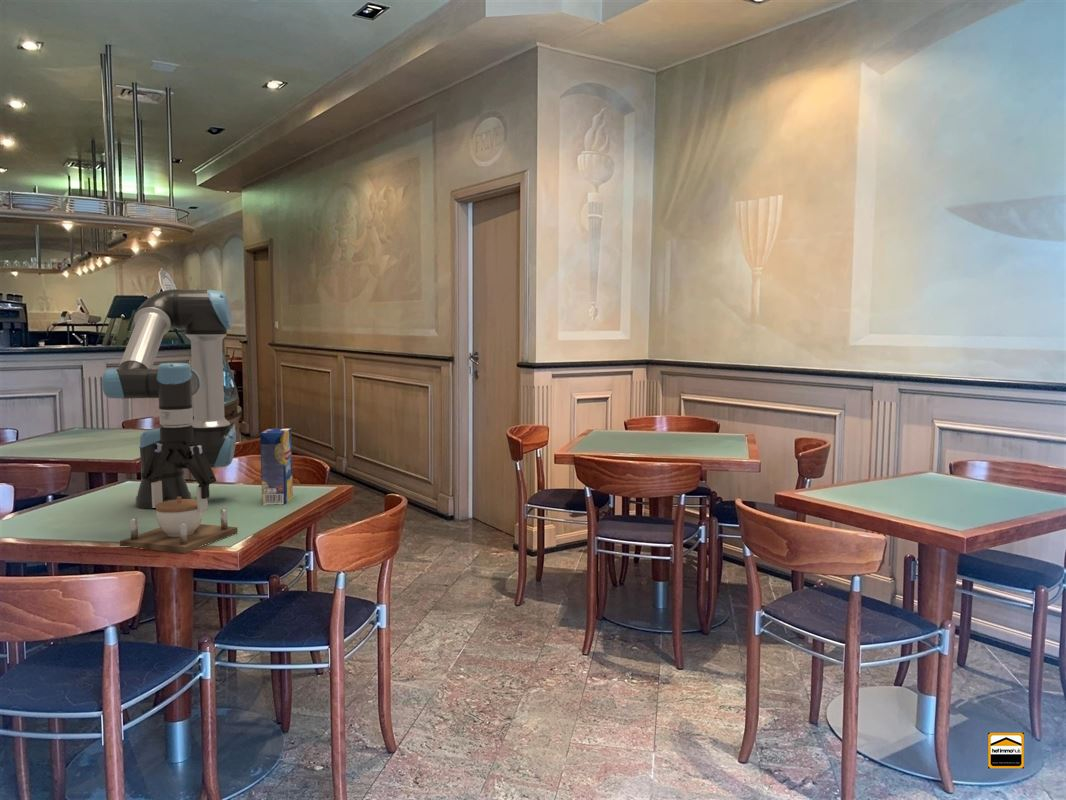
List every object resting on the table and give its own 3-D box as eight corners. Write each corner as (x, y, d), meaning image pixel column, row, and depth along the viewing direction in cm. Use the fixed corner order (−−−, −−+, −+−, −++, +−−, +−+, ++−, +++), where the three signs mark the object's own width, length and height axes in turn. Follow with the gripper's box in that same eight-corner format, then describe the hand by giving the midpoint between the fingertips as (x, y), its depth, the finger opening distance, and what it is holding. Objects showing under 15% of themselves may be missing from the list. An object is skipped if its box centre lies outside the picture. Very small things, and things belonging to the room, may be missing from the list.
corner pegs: (129, 539, 183) (128, 519, 183) (177, 523, 199) (176, 505, 198) (184, 544, 179) (183, 524, 178) (229, 528, 194) (228, 509, 194)
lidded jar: (170, 527, 194) (169, 492, 193) (211, 528, 194) (210, 492, 193) (148, 539, 184) (146, 501, 183) (191, 539, 183) (189, 501, 182)
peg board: (119, 546, 182) (119, 540, 182) (176, 527, 200) (176, 522, 200) (185, 553, 177) (184, 547, 177) (237, 532, 195) (237, 527, 195)
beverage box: (292, 497, 239) (291, 428, 237) (285, 504, 228) (283, 432, 226) (270, 497, 238) (268, 428, 236) (262, 505, 227) (260, 433, 225)
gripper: (123, 425, 186) (127, 508, 188) (208, 429, 179) (211, 516, 181) (146, 421, 193) (150, 502, 195) (229, 425, 186) (232, 509, 189)
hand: (180, 509), depth 188 cm, fingers open, 13 cm apart
